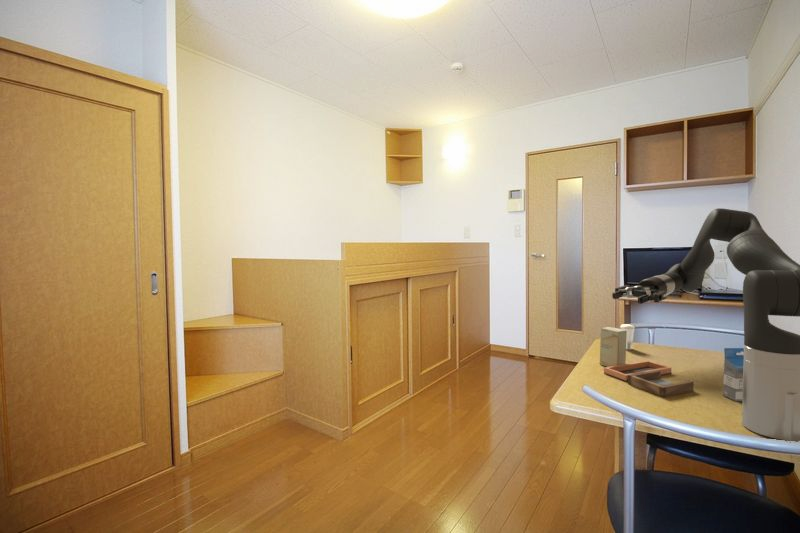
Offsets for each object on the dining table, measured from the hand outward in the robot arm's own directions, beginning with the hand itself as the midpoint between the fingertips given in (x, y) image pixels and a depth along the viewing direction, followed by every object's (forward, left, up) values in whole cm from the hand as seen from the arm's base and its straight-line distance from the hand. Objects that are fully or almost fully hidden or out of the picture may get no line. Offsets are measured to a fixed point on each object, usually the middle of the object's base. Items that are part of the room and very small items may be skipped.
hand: (625, 298), depth 122 cm
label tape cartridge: (-32, -2, -22) cm, 39 cm away
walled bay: (-19, +10, -21) cm, 30 cm away
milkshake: (+12, -15, -22) cm, 29 cm away
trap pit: (-9, +6, -21) cm, 24 cm away
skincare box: (-1, +7, -22) cm, 23 cm away
